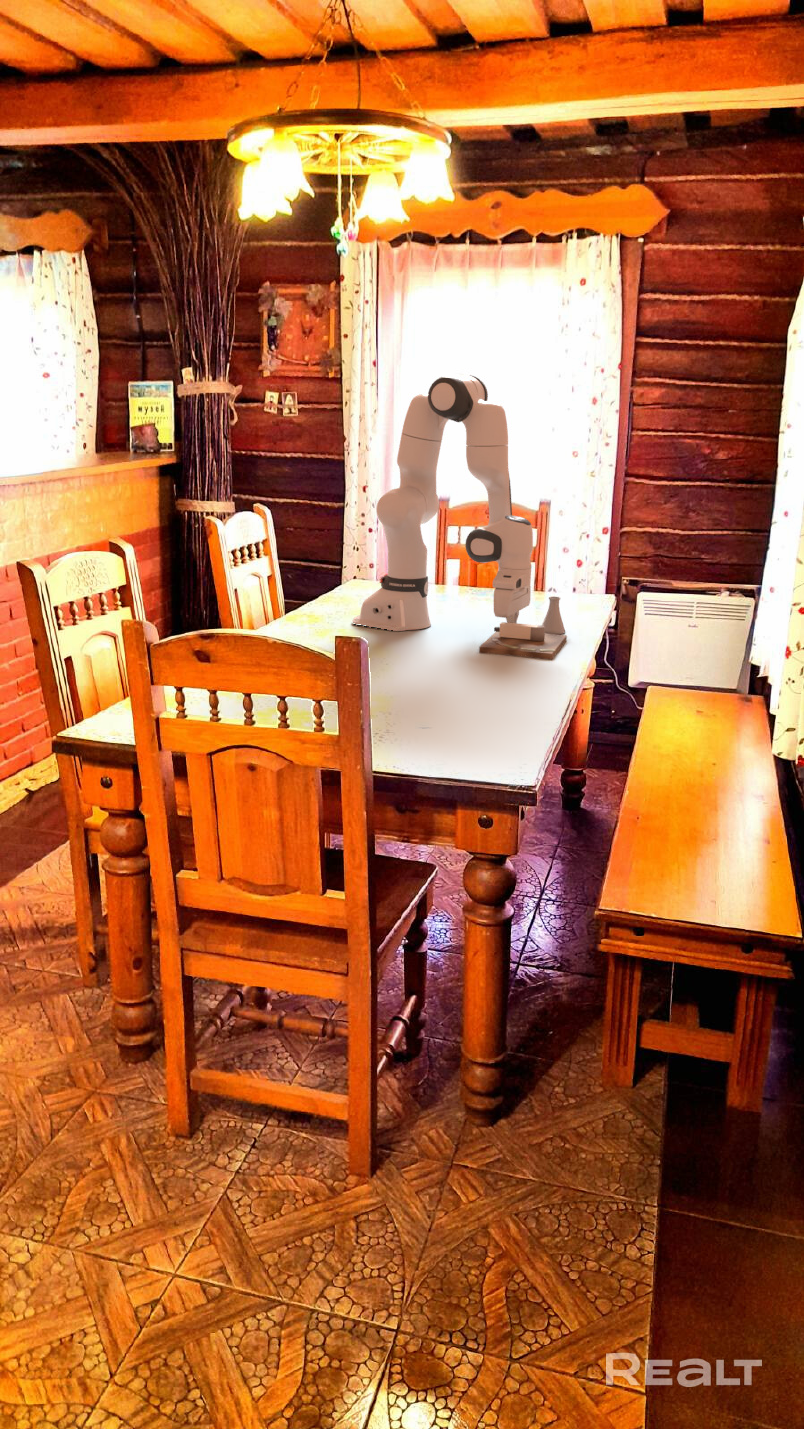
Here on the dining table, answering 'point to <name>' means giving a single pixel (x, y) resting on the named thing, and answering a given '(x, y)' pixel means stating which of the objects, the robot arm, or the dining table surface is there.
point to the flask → (553, 618)
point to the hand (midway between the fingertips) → (511, 627)
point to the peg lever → (521, 631)
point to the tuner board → (524, 646)
